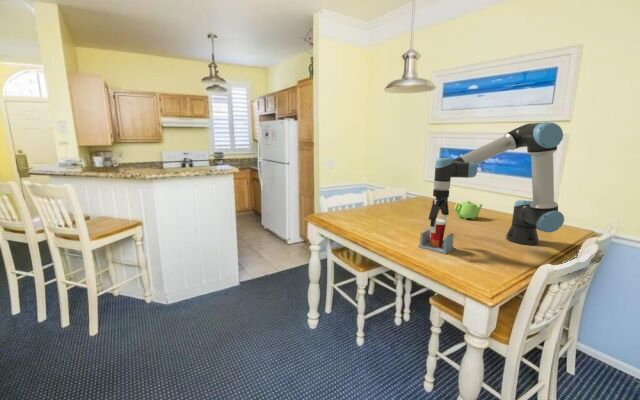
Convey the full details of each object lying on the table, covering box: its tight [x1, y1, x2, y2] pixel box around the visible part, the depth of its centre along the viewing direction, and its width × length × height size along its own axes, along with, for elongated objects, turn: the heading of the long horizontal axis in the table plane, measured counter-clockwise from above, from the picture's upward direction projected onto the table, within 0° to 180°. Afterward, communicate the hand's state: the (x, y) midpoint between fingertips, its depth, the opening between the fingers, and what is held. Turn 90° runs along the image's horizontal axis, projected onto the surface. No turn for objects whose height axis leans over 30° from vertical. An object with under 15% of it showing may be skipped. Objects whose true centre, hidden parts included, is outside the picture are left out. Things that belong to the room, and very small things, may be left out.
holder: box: [417, 227, 455, 255], centre depth 156 cm, size 14×12×8 cm
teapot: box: [453, 200, 483, 221], centre depth 214 cm, size 20×13×13 cm
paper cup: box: [430, 218, 447, 248], centre depth 155 cm, size 8×8×14 cm
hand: (437, 229), depth 154 cm, fingers open, 13 cm apart
